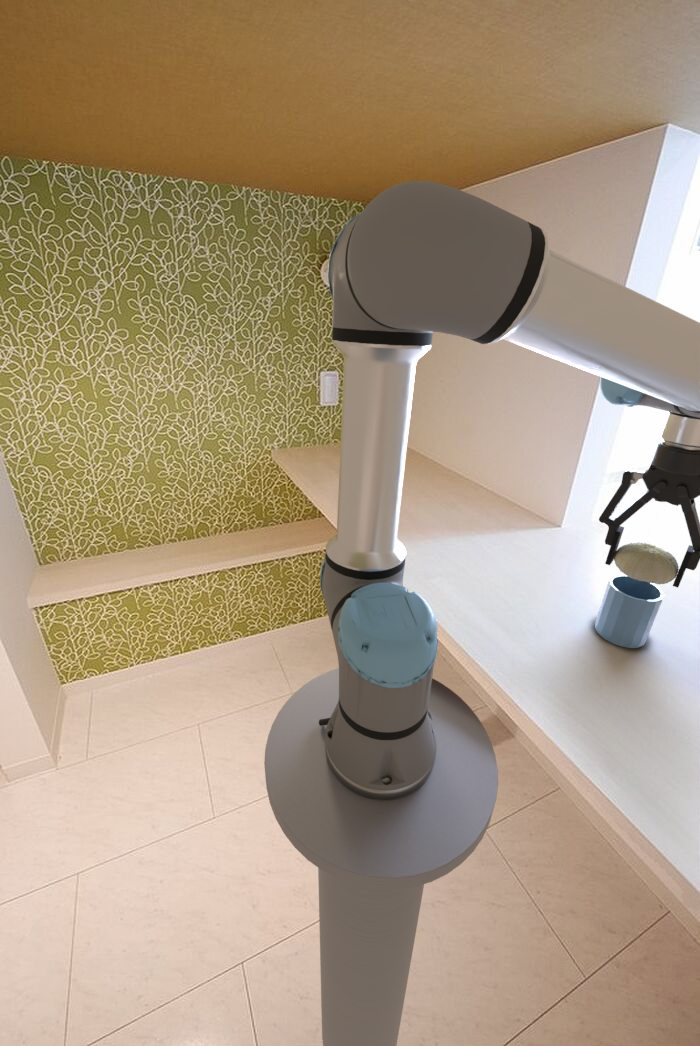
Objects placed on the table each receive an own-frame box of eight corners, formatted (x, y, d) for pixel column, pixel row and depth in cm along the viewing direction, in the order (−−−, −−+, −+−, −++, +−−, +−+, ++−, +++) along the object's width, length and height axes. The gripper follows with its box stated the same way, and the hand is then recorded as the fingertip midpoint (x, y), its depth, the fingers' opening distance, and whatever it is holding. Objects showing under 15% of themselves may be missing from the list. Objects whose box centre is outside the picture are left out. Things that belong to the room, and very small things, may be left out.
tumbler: (589, 633, 80) (603, 587, 75) (601, 613, 85) (615, 569, 81) (640, 655, 75) (659, 607, 70) (649, 632, 80) (667, 587, 76)
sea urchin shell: (641, 545, 79) (679, 531, 72) (657, 588, 77) (698, 578, 69) (598, 549, 77) (633, 536, 70) (613, 593, 75) (650, 584, 68)
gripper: (787, 454, 61) (724, 588, 70) (613, 427, 74) (580, 543, 83) (788, 465, 55) (720, 608, 65) (600, 435, 69) (567, 557, 78)
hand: (641, 572), depth 74 cm, fingers closed on sea urchin shell, 9 cm apart
